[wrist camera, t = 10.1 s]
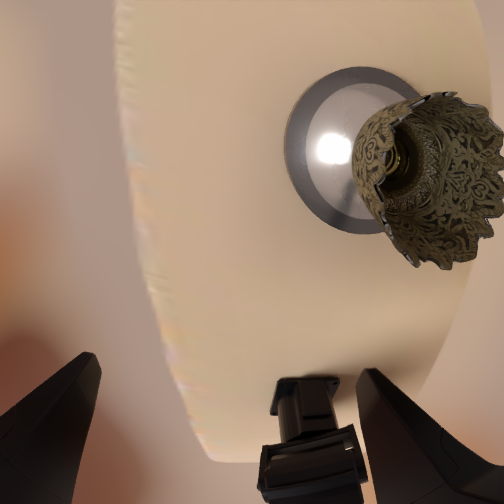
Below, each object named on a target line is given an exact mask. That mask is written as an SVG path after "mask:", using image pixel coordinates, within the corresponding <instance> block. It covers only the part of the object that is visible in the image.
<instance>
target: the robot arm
mask: <svg viewBox="0 0 504 504" xmlns="http://www.w3.org/2000/svg"><path fill="white" fill-rule="evenodd" d="M101 373H102V372H101V367H100V365H99V362H98V360H97V357H96V355H95V354H93V353H90V352H83V353H81V354H80V355H78V356H77V357H76V358H74V359H73V360H72V361H70V362H69V363H68V364H66V365H65V366H64V367H63V368H61V369H60V370H59V371H57V372H56V373H55V374H53V375H52V376H51V377H50V378H48V379H47V380H46V381H44V382H43V383H42V384H41V385H39V386H38V387H37V388H36V389H34V390H33V391H32V392H30V393H29V394H28V395H27V396H25V397H24V398H23V399H22V400H20V401H19V402H18V403H16V405H14V406H13V407H11V408H10V409H9V410H8V411H6V412H5V413H4V414H2V415H1V416H0V504H71V503H72V498H73V493H74V488H75V483H76V478H77V474H78V470H79V465H80V461H81V457H82V453H83V449H84V446H85V442H86V438H87V434H88V431H89V427H90V424H91V421H92V417H93V413H94V409H95V404H96V399H97V394H98V388H99V384H100V379H101ZM339 384H340V380H339V378H318V379H282V380H279V381H277V384H276V388H275V392H274V396H273V400H272V404H271V408H270V415H272V416H278V418H279V427H280V437H281V443H279V444H274V445H263V446H262V452H261V457H260V467H259V477H258V483H257V489H258V490H259V491H260V492H261V493H262V496H263V499H264V500H265V502H266V503H269V504H364V499H363V494H362V490H361V485H360V484H363V483H366V482H368V476H367V471H366V466H365V462H364V458H363V455H362V451H361V448H360V445H359V441H358V438H357V435H356V432H355V429H354V425H353V424H350V425H347V426H346V427H343V428H340V429H339V426H338V422H337V418H336V415H335V411H334V407H333V403H332V398H333V396H334V394H335V392H336V390H337V388H338V386H339ZM356 394H357V402H358V409H359V418H360V425H361V430H362V434H363V438H364V442H365V447H366V451H367V456H368V460H369V465H370V469H371V474H372V479H373V484H374V489H375V494H376V500H377V504H504V466H499V465H495V464H492V463H489V462H488V461H486V460H484V459H483V458H482V457H480V456H479V455H477V454H476V453H474V452H473V451H471V450H470V449H469V448H467V447H466V446H465V445H463V444H462V443H461V442H459V441H458V440H457V439H455V438H454V437H453V436H452V435H451V434H449V433H448V432H447V431H446V430H445V429H444V428H442V427H441V426H440V425H439V424H438V423H437V422H436V421H435V420H433V418H431V417H430V416H429V415H428V414H427V413H426V412H425V411H424V410H422V409H421V408H420V407H419V406H418V405H417V404H416V403H415V402H414V401H412V400H411V399H410V398H409V397H408V396H407V395H406V394H405V393H404V392H402V391H401V390H400V389H399V388H398V387H397V386H396V385H395V384H393V383H392V382H391V381H390V380H389V379H388V378H387V377H386V376H385V375H383V374H382V373H381V372H380V371H379V370H378V369H377V368H374V367H373V368H365V369H364V370H363V371H362V373H361V375H360V377H359V379H358V381H357V383H356ZM350 447H352V449H348V450H345V449H347V448H350Z"/></svg>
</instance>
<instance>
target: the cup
mask: <svg viewBox="0 0 504 504" xmlns="http://www.w3.org/2000/svg"><path fill="white" fill-rule="evenodd" d="M456 94H457V92H442V93H441V92H436V93H432V94H430V95H425V96H421V97H416V98H412V99H408V100H404V101H401V102H398V103H395V104H392V105H389V106H387V107H385V108H383V109H381V110H379V111H378V112H376V113H375V114H374V115H372V116H371V117H370V118H369V119H368V120H367V121H366V122H365V123H364V124H363V126H362V127H361V129H360V131H359V133H358V135H357V137H356V139H355V142H354V146H353V150H352V159H351V166H352V175H353V179H354V183H355V186H356V188H357V191H358V193H359V195H360V197H361V199H362V201H363V202H364V204H365V206H366V207H367V209H368V210H369V212H370V213H371V214H372V216H373V217H374V218H375V220H376V221H377V222H378V224H379V225H380V226H381V228H382V229H383V230H384V232H385V233H386V234H387V236H388V237H389V238H390V240H391V241H392V243H393V245H394V247H395V248H396V249H397V250H398V251H399V252H400V253H401V254H403V255H404V257H405V258H406V259H407V260H408V261H409V262H410V263H411V264H412V265H413V266H414V267H416V268H418V267H419V266H420V265H421V264H420V261H419V260H421V261H423V262H427V261H432V262H434V263H435V264H437V265H438V267H439V268H440V269H441V270H451V269H452V265H453V262H459V263H462V262H467V261H470V260H473V259H475V258H476V256H477V250H478V240H479V237H480V238H481V237H484V239H485V238H490V237H493V235H494V232H493V229H492V226H491V225H490V224H489V221H488V218H499V217H500V216H502V214H503V213H504V203H503V201H502V199H503V198H504V182H503V178H502V177H501V176H500V175H499V174H498V173H497V172H498V171H501V170H504V157H502V156H501V155H500V150H501V147H502V146H503V137H504V133H503V131H502V130H501V128H499V127H498V126H497V125H496V124H495V123H494V122H493V121H492V120H491V119H490V118H489V112H488V110H487V108H486V107H484V106H482V105H479V104H474V105H473V104H466V103H465V102H463V101H462V99H461V98H458V97H453V96H454V95H456ZM499 148H500V149H499ZM388 150H390V160H389V162H388V164H387V165H386V166H385V159H386V155H387V151H388ZM485 218H486V220H487V221H486V220H485ZM487 222H488V223H487ZM488 224H489V225H488Z"/></svg>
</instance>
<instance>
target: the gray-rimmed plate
mask: <svg viewBox="0 0 504 504" xmlns="http://www.w3.org/2000/svg"><path fill="white" fill-rule="evenodd" d="M416 97H421V96H420V95H419V94H418V93H417V92H416V91H415V90H414V89H413V88H412V87H411V86H410V85H409V84H408V83H406V82H405V81H404V80H402V79H401V78H399V77H397V76H395V75H394V74H391V73H389V72H386V71H384V70H380V69H376V68H371V67H350V68H346V69H341V70H338V71H336V72H333V73H331V74H329V75H327V76H325V77H323V78H321V79H319V80H318V81H316V82H315V83H314V84H312V85H311V86H310V87H309V88H307V90H306V91H305V92H304V93H303V94H302V95H301V96H300V98H299V99H298V101H297V102H296V104H295V105H294V107H293V109H292V111H291V113H290V115H289V119H288V122H287V125H286V130H285V136H284V156H285V163H286V167H287V171H288V174H289V177H290V179H291V182H292V184H293V186H294V188H295V190H296V191H297V193H298V194H299V196H300V197H301V198H302V200H303V201H304V203H305V204H306V205H307V207H308V208H309V209H310V210H311V211H312V212H313V213H314V214H315V215H316V216H317V217H319V218H320V219H321V220H322V221H324V222H326V223H327V224H329V225H330V226H332V227H335V228H337V229H339V230H342V231H345V232H348V233H354V234H375V233H380V232H384V230H383V229H382V228H381V226H380V225H379V224H378V222H377V221H376V220H375V218H374V217H373V216H372V214H371V213H370V212H369V210H368V209H367V207H366V206H365V204H364V202H363V201H362V199H361V197H360V195H359V193H358V191H357V188H356V186H355V183H354V179H353V175H352V166H351V159H352V150H353V146H354V142H355V139H356V137H357V135H358V133H359V131H360V129H361V127H362V126H363V124H364V123H365V122H366V121H367V120H368V119H369V118H370V117H371V116H372V115H374V114H375V113H376V112H378V111H379V110H381V109H383V108H385V107H387V106H389V105H392V104H395V103H398V102H401V101H404V100H408V99H412V98H416ZM389 160H390V150H388V151H387V155H386V159H385V166H386V165H387V164H388V162H389Z"/></svg>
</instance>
